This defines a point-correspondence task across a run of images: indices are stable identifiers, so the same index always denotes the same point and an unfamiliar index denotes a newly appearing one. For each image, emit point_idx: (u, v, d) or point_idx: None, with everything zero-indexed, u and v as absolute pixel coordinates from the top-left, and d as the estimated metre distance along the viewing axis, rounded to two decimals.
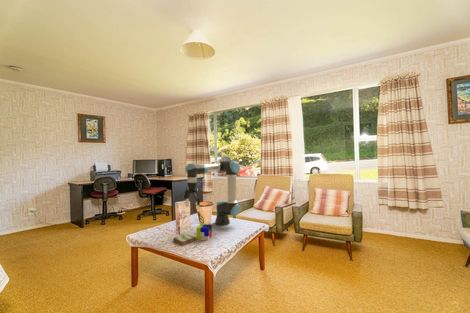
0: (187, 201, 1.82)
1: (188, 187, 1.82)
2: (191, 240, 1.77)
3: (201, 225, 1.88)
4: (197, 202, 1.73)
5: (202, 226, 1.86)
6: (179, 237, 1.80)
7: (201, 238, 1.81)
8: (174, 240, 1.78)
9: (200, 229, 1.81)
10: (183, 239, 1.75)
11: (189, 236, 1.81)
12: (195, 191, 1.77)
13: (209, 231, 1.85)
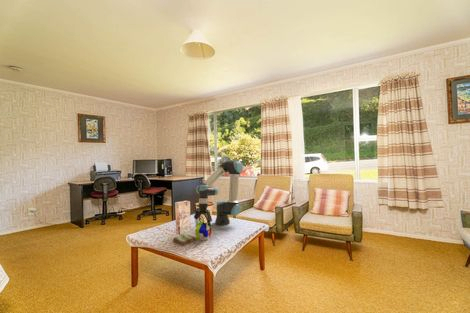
0: (197, 221, 1.87)
1: (199, 208, 1.89)
2: (191, 240, 1.77)
3: (199, 224, 1.85)
4: None
5: (201, 226, 1.83)
6: (179, 237, 1.80)
7: (201, 238, 1.81)
8: (174, 240, 1.78)
9: (199, 231, 1.79)
10: (183, 239, 1.75)
11: (189, 236, 1.81)
12: (206, 212, 1.83)
13: (208, 231, 1.83)
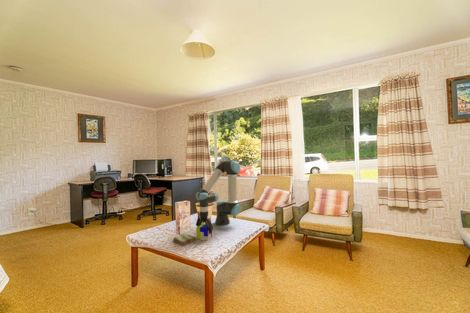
0: None
1: (200, 215, 1.90)
2: (191, 240, 1.77)
3: (201, 225, 1.88)
4: None
5: (202, 225, 1.87)
6: (179, 237, 1.80)
7: (200, 238, 1.82)
8: (174, 240, 1.78)
9: (200, 229, 1.82)
10: (183, 239, 1.75)
11: (189, 236, 1.81)
12: None
13: None
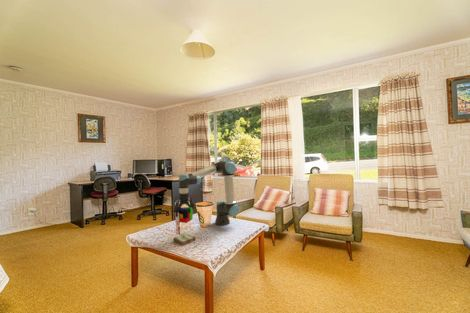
0: None
1: (190, 198, 1.83)
2: (191, 240, 1.77)
3: (187, 207, 1.82)
4: None
5: (185, 208, 1.81)
6: (179, 237, 1.80)
7: None
8: (174, 240, 1.78)
9: None
10: (183, 239, 1.75)
11: (189, 236, 1.81)
12: (182, 202, 1.77)
13: (180, 215, 1.75)
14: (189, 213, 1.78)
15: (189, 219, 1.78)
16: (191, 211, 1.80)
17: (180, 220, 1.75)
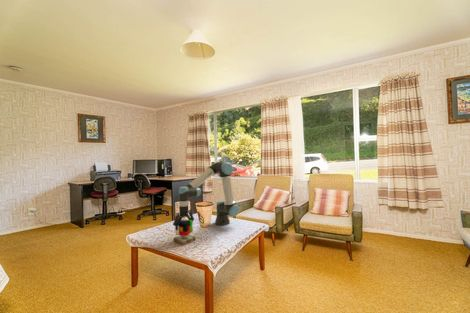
0: None
1: (190, 210, 1.83)
2: (191, 240, 1.77)
3: (187, 220, 1.82)
4: None
5: (185, 220, 1.81)
6: (179, 237, 1.80)
7: None
8: (174, 240, 1.78)
9: None
10: (183, 239, 1.75)
11: (189, 236, 1.81)
12: (182, 215, 1.77)
13: (180, 228, 1.75)
14: (189, 225, 1.78)
15: (189, 232, 1.78)
16: (190, 224, 1.80)
17: (180, 233, 1.75)
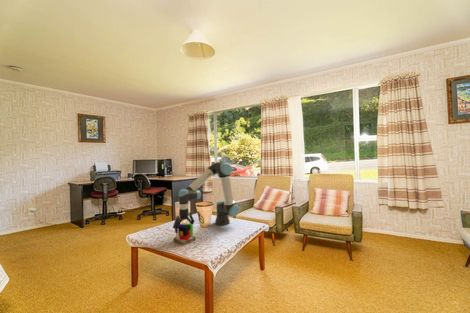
0: None
1: (190, 213, 1.83)
2: (191, 240, 1.77)
3: (188, 224, 1.82)
4: None
5: (185, 224, 1.81)
6: None
7: None
8: (174, 240, 1.78)
9: None
10: None
11: None
12: (182, 218, 1.77)
13: (180, 232, 1.75)
14: (189, 230, 1.78)
15: (189, 236, 1.78)
16: (191, 228, 1.81)
17: (180, 237, 1.75)
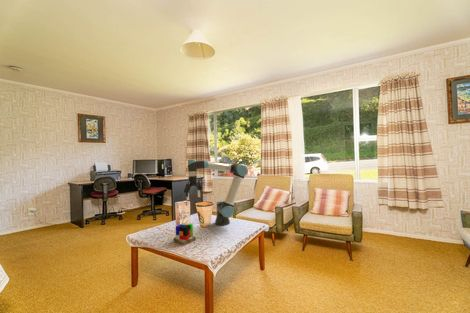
0: (198, 192, 2.05)
1: (197, 180, 2.04)
2: (191, 240, 1.77)
3: (188, 224, 1.82)
4: None
5: (185, 224, 1.81)
6: None
7: None
8: (174, 240, 1.78)
9: None
10: None
11: None
12: None
13: (180, 232, 1.75)
14: (189, 230, 1.78)
15: (189, 236, 1.78)
16: (191, 228, 1.81)
17: (180, 237, 1.75)
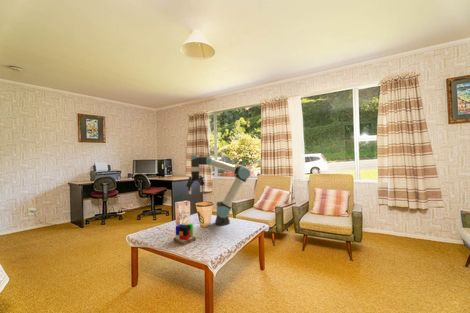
0: (200, 187, 2.13)
1: (200, 175, 2.12)
2: (191, 240, 1.77)
3: (188, 224, 1.82)
4: None
5: (185, 224, 1.81)
6: None
7: None
8: (174, 240, 1.78)
9: None
10: None
11: None
12: (194, 179, 2.05)
13: (180, 232, 1.75)
14: (189, 230, 1.78)
15: (189, 236, 1.78)
16: (191, 228, 1.81)
17: (180, 237, 1.75)
